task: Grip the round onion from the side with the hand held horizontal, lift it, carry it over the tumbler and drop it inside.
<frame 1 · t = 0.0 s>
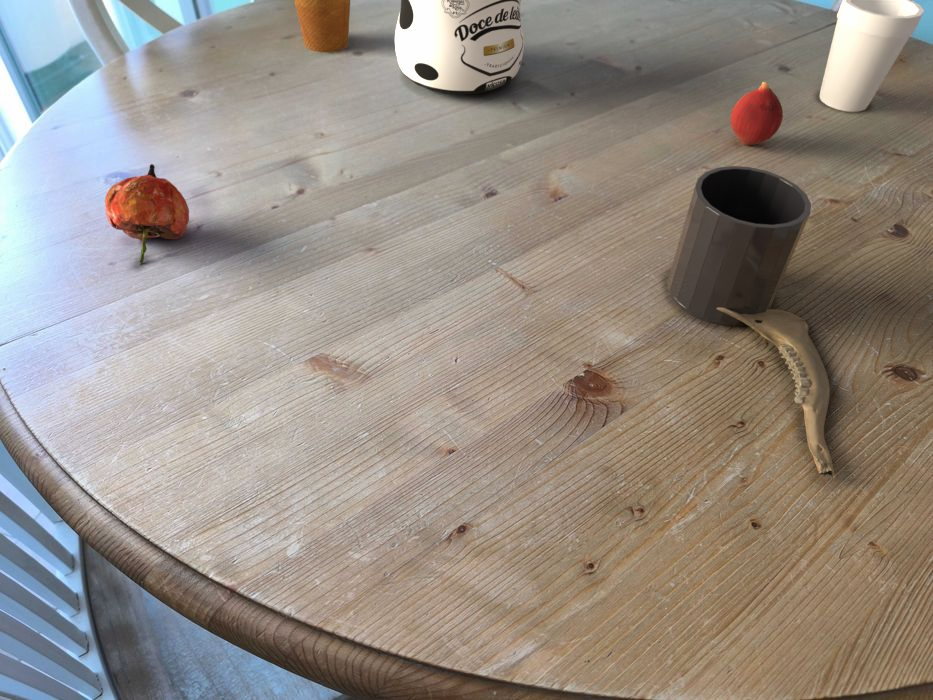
jawbone: (757, 384, 63), on the table, touching tumbler
foam cup: (842, 103, 103), on the table
disposable coffee cup: (326, 46, 110), on the table
tumbler: (717, 294, 72), on the table
onion: (746, 146, 93), on the table
orange pumpkin: (157, 243, 74), on the table
doce de leite jar: (458, 78, 104), on the table
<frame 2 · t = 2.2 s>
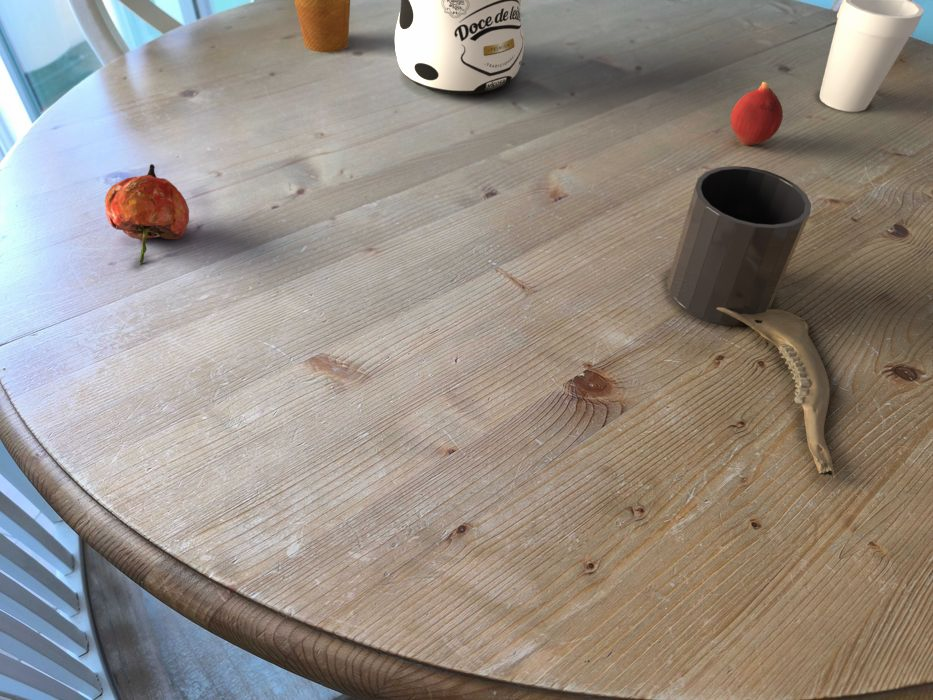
nothing on the table moved.
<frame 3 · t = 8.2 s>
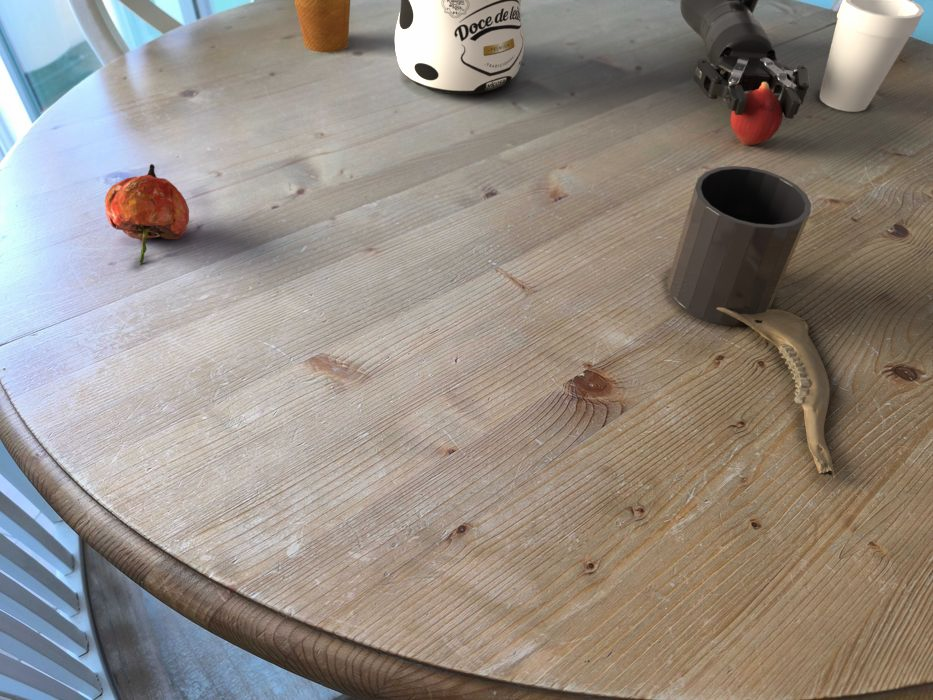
hand: (767, 109, 87), 6 cm above the table, tool horizontal, fingers closed on onion, 5 cm apart
onion: (746, 146, 93), on the table, touching gripper
everything else where it was.
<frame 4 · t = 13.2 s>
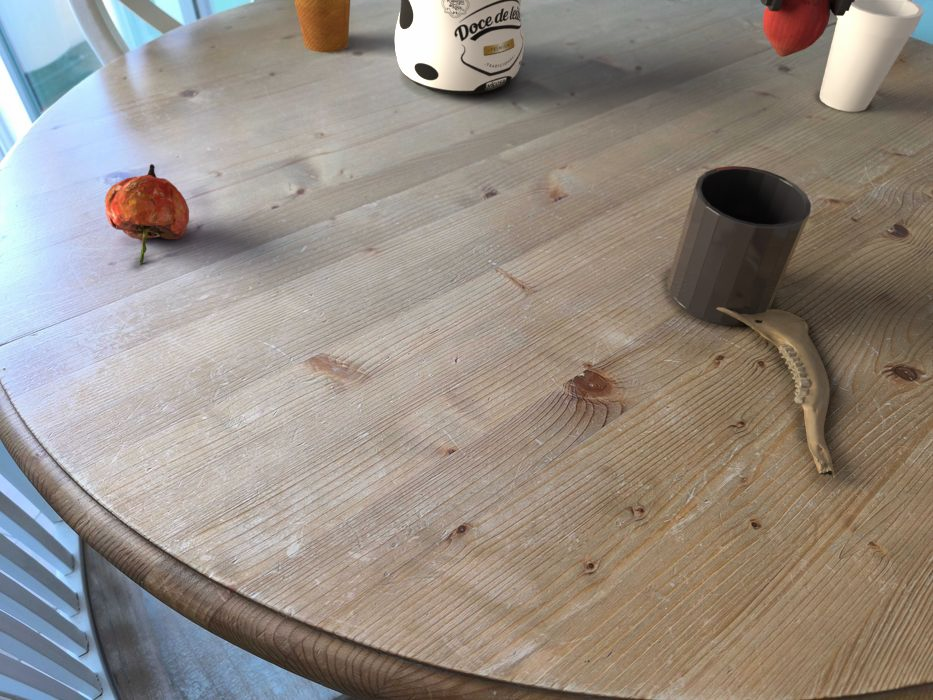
hand: (811, 2, 68), 22 cm above the table, tool horizontal, fingers closed on onion, 5 cm apart
onion: (782, 57, 74), point 15 cm above the table, touching gripper
everything else where it was.
when the fingers open (15 cm above the table, at t = 18.5 s): onion drops 8 cm, resting on tumbler.
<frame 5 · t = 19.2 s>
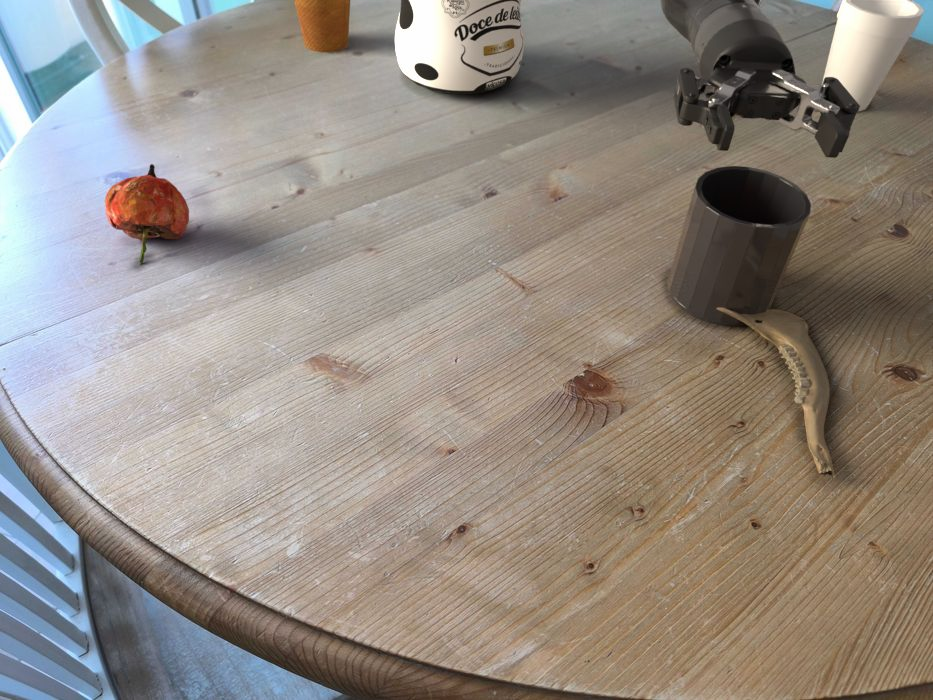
hand: (782, 143, 58), 17 cm above the table, tool horizontal, fingers open, 8 cm apart
onion: (715, 287, 71), point 1 cm above the table, touching tumbler
everything else where it was.
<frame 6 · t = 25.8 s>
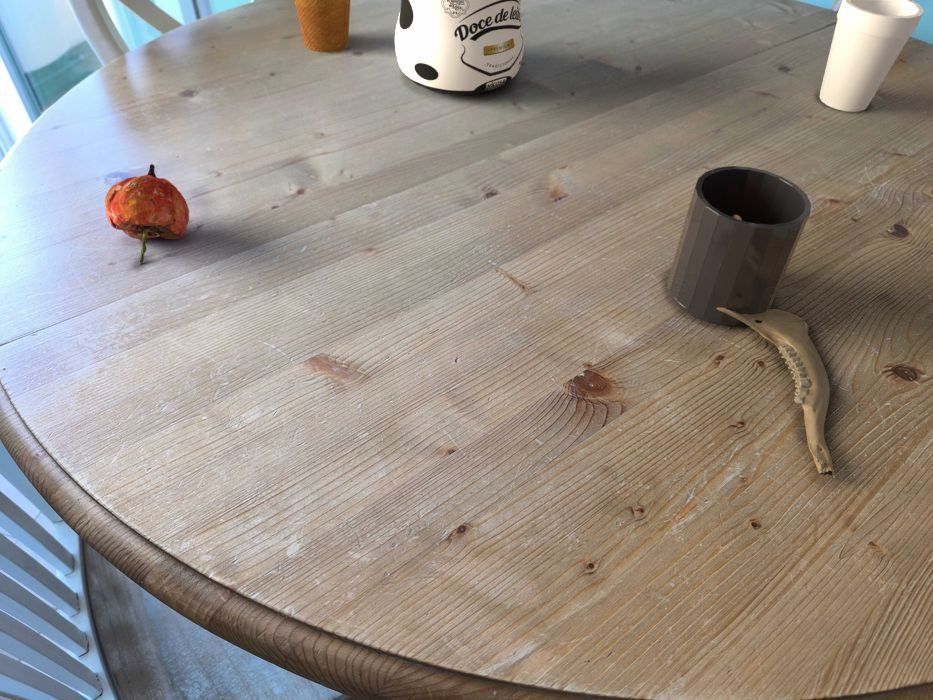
nothing on the table moved.
at the end: onion inside the target area in the tumbler (0.4 cm from its centre), point 0.4 cm above the tumbler's base; the gripper is holding nothing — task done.
